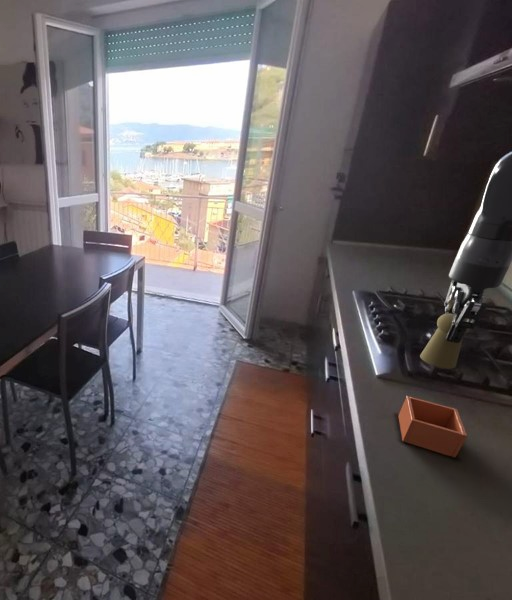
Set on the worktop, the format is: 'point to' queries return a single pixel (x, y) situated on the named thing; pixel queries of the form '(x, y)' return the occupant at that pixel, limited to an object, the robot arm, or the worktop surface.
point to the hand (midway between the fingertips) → (449, 334)
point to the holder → (431, 426)
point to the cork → (442, 345)
